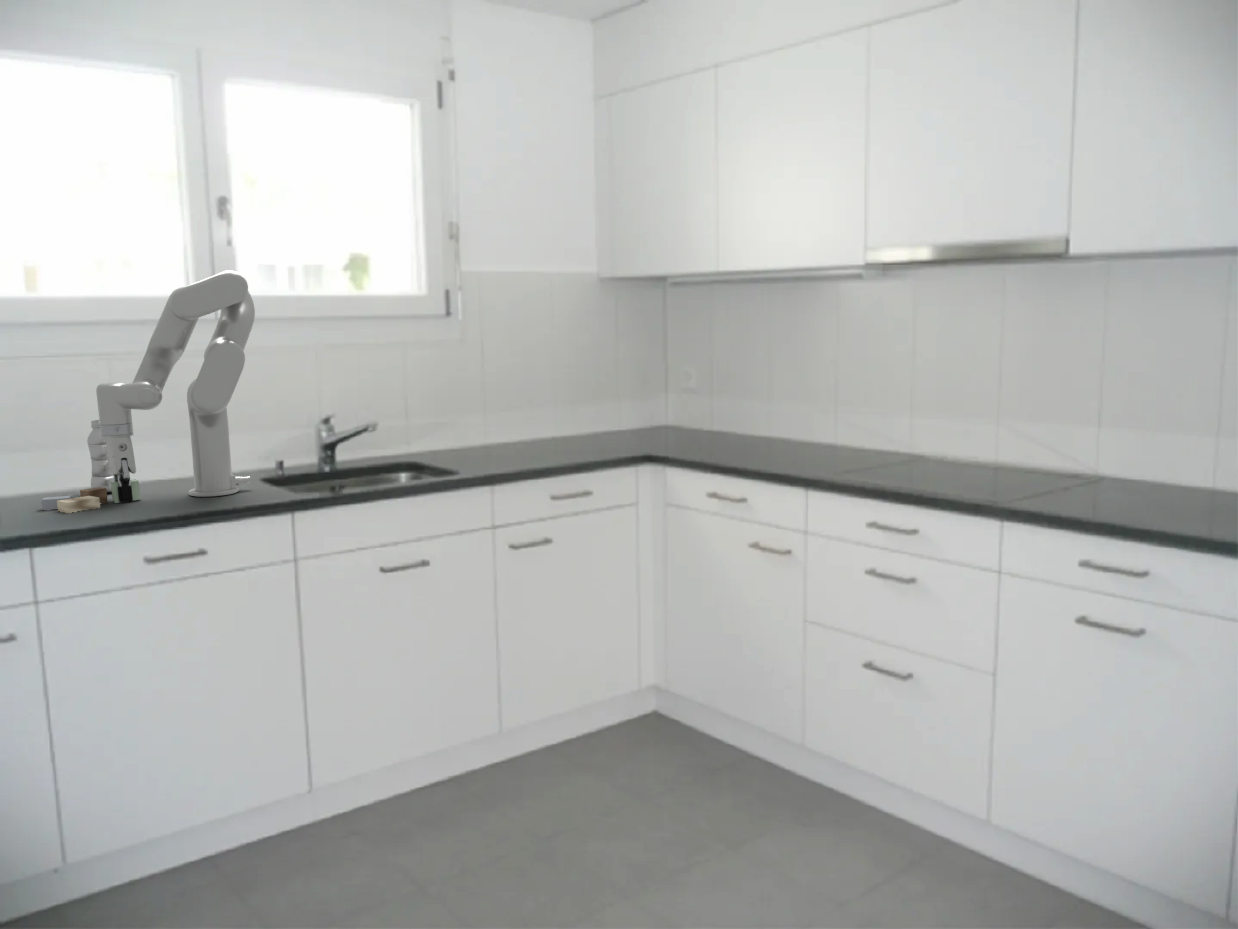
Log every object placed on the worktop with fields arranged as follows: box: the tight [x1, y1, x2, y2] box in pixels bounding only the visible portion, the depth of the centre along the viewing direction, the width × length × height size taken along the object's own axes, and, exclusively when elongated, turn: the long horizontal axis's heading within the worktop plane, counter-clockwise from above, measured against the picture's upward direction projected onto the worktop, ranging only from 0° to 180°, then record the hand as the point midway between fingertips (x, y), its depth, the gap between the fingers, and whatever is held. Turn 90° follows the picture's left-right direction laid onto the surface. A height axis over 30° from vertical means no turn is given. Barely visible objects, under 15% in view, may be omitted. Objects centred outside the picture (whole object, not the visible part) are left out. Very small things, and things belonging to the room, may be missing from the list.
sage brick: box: [111, 479, 141, 504], centre depth 261 cm, size 6×4×5 cm, turn 127°
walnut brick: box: [79, 487, 108, 504], centre depth 258 cm, size 5×4×4 cm
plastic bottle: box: [86, 419, 114, 494], centre depth 272 cm, size 6×7×20 cm
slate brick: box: [41, 495, 72, 511], centre depth 252 cm, size 6×4×3 cm, turn 110°
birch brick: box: [57, 496, 101, 514], centre depth 250 cm, size 8×5×3 cm, turn 146°
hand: (124, 499), depth 261 cm, fingers closed on sage brick, 3 cm apart
